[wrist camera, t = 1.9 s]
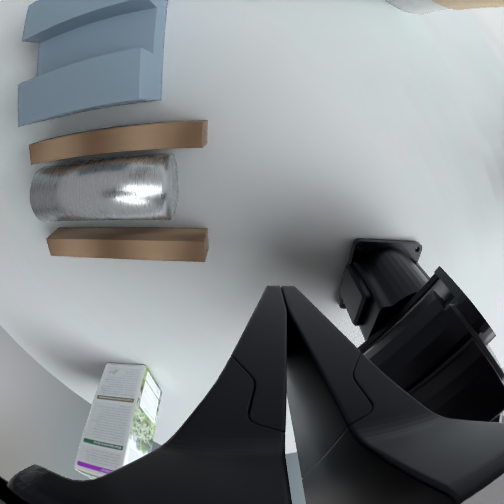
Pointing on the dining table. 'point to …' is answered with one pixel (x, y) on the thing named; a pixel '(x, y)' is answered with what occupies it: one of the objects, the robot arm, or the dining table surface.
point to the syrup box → (119, 420)
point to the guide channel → (126, 239)
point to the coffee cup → (442, 5)
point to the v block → (92, 56)
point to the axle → (107, 189)
